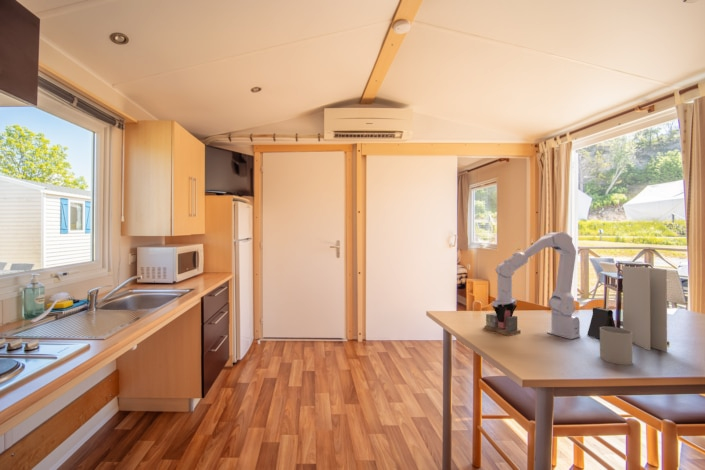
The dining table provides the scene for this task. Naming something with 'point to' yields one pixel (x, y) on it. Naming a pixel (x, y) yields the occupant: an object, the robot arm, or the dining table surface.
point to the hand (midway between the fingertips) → (504, 321)
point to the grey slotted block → (508, 330)
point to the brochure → (645, 306)
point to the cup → (616, 345)
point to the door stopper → (600, 321)
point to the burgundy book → (503, 324)
